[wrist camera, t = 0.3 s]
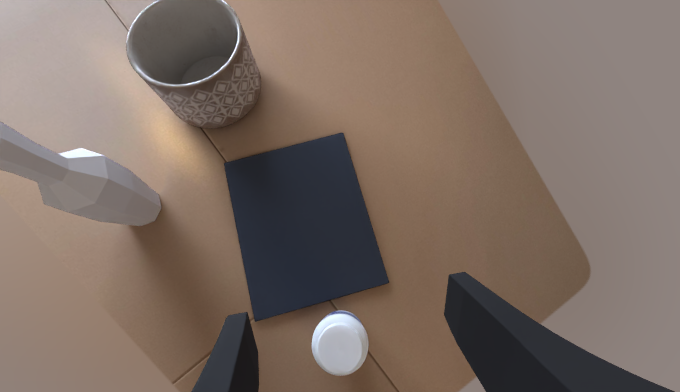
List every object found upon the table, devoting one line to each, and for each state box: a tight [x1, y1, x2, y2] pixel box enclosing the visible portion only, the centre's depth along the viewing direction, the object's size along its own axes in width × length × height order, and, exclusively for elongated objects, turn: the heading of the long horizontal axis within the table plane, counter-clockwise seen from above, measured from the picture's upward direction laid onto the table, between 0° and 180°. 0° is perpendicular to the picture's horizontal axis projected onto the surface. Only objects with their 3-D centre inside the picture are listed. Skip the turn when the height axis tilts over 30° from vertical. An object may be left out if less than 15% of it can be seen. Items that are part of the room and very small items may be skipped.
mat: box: [224, 133, 389, 322], centre depth 42 cm, size 20×16×1 cm
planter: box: [126, 0, 261, 128], centre depth 42 cm, size 13×13×10 cm
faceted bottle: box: [0, 122, 161, 226], centre depth 32 cm, size 6×6×22 cm
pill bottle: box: [312, 310, 369, 376], centre depth 34 cm, size 5×5×10 cm
